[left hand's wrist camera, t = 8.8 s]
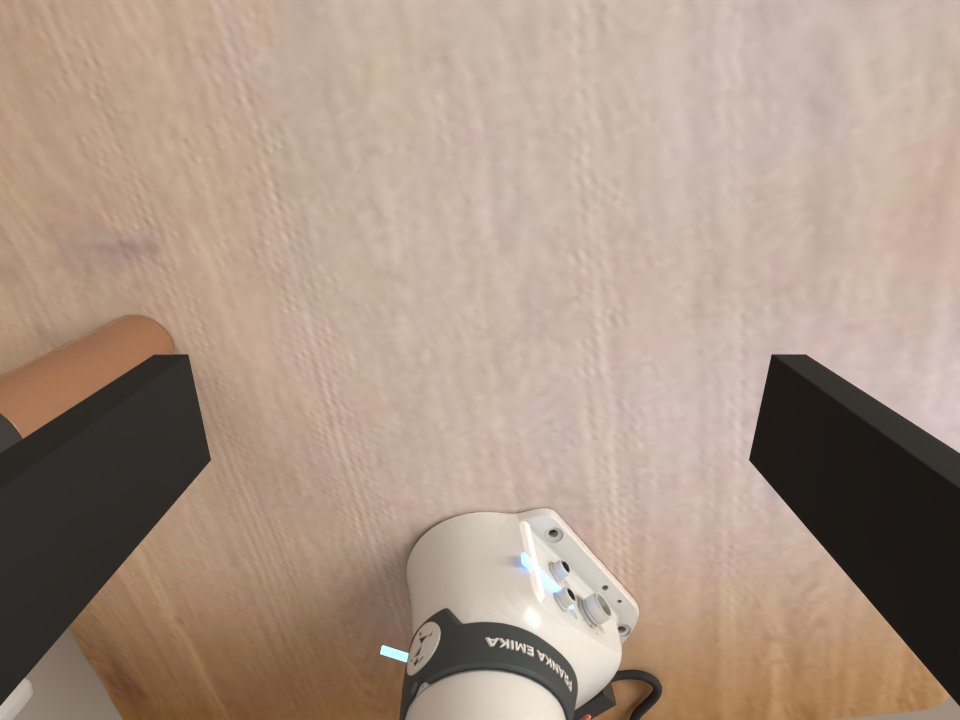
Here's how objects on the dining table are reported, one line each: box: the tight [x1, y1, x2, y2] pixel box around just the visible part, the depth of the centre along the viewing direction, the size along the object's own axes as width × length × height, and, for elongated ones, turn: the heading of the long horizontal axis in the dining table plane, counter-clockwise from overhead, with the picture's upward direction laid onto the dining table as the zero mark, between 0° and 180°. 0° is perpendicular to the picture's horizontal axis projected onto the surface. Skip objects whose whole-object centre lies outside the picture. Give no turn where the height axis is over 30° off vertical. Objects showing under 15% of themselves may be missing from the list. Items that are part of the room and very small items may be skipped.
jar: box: [0, 315, 174, 439], centre depth 34 cm, size 5×5×17 cm
